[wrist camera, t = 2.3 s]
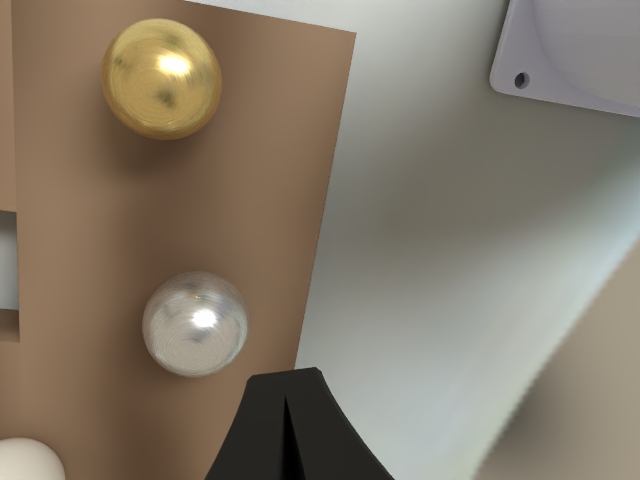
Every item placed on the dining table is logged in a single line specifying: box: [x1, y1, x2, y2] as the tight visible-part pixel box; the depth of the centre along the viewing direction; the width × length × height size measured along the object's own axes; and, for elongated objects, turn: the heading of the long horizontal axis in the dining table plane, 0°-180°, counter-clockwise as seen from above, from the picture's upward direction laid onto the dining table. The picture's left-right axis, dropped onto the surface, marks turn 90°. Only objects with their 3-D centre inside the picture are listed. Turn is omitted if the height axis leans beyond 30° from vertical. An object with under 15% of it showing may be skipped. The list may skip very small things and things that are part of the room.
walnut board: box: [0, 0, 356, 480], centre depth 18 cm, size 16×18×2 cm
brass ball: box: [101, 18, 222, 140], centre depth 14 cm, size 3×3×3 cm
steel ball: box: [142, 271, 250, 378], centre depth 17 cm, size 3×3×3 cm
